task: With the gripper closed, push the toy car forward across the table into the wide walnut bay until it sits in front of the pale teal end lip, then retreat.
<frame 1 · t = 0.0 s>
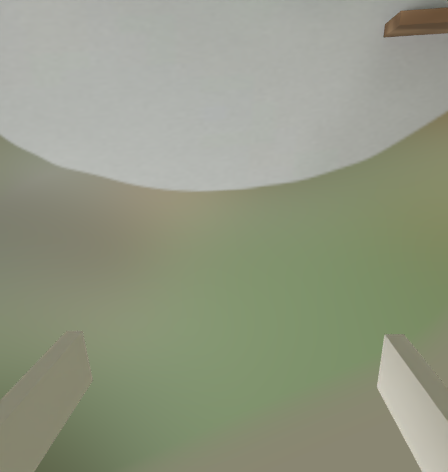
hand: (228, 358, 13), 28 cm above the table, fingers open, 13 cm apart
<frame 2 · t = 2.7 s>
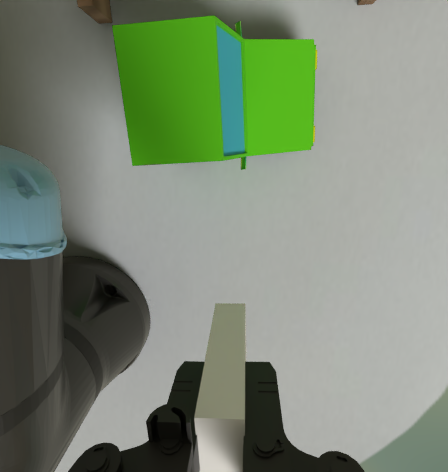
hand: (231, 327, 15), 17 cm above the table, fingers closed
toy car: (233, 109, 28), on the table
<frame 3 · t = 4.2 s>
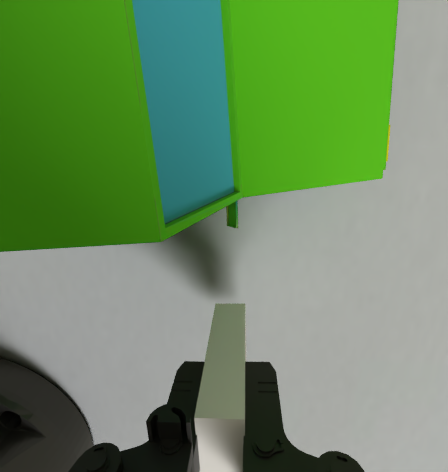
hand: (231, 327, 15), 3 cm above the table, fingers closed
toy car: (213, 97, 15), on the table
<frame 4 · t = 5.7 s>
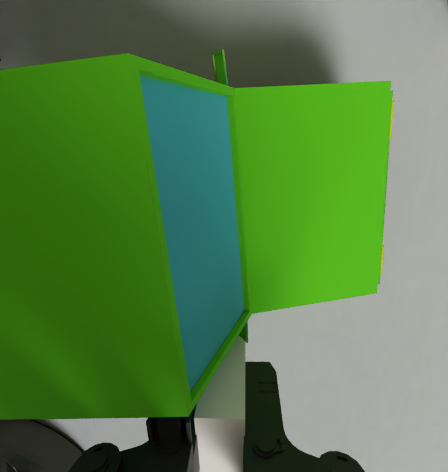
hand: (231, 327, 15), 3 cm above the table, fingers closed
toy car: (221, 191, 16), on the table, touching gripper
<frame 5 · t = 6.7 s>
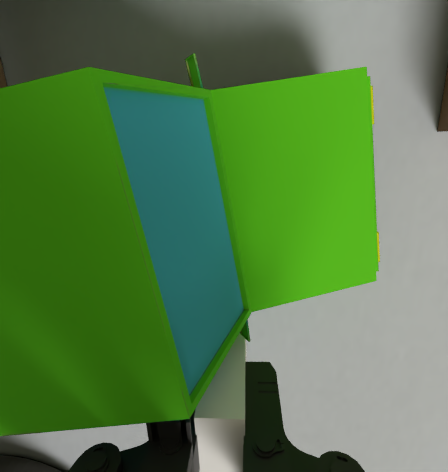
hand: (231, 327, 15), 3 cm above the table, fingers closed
toy car: (215, 193, 16), on the table
bay: (214, 40, 14), on the table
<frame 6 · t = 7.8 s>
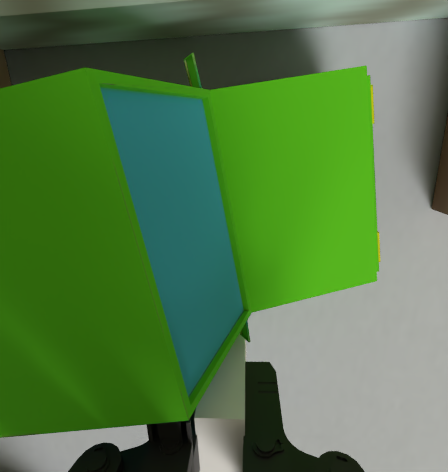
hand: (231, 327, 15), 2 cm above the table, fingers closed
toy car: (214, 193, 16), on the table, touching gripper
bay: (223, 125, 15), on the table
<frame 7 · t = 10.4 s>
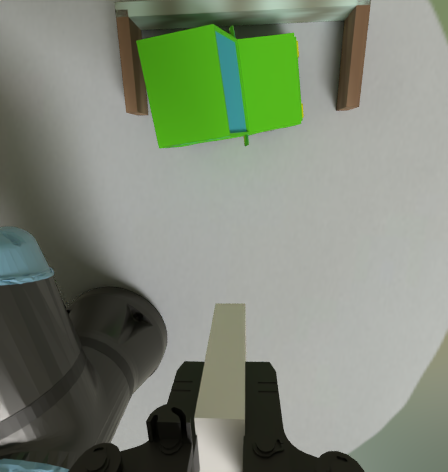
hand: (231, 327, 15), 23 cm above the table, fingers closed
toy car: (233, 99, 33), on the table
bay: (239, 67, 32), on the table
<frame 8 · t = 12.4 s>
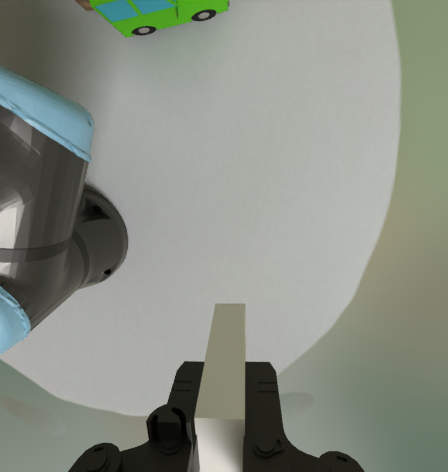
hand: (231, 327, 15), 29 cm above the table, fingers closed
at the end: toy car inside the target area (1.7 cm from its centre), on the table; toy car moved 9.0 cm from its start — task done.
